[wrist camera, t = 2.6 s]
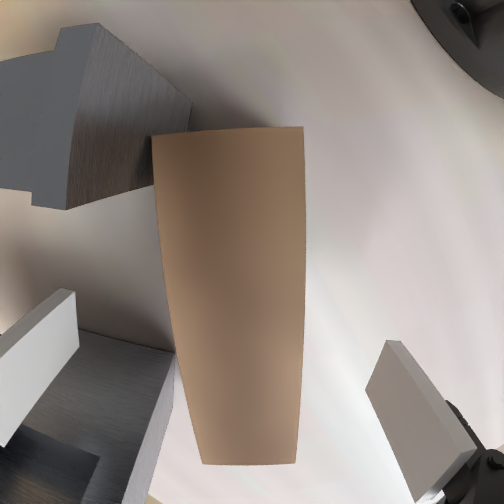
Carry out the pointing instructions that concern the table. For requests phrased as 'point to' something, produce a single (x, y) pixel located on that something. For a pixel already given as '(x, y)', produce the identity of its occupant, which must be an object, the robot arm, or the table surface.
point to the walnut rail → (236, 284)
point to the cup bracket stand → (66, 197)
